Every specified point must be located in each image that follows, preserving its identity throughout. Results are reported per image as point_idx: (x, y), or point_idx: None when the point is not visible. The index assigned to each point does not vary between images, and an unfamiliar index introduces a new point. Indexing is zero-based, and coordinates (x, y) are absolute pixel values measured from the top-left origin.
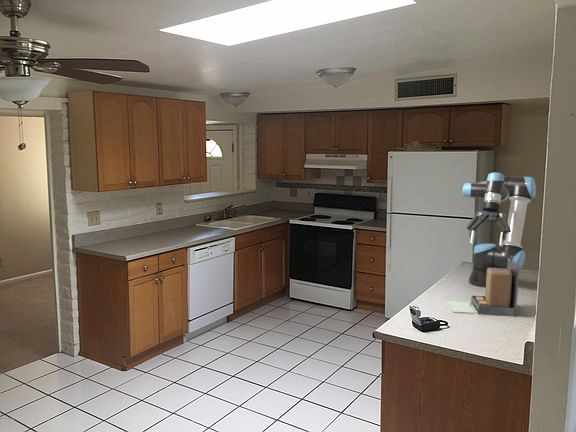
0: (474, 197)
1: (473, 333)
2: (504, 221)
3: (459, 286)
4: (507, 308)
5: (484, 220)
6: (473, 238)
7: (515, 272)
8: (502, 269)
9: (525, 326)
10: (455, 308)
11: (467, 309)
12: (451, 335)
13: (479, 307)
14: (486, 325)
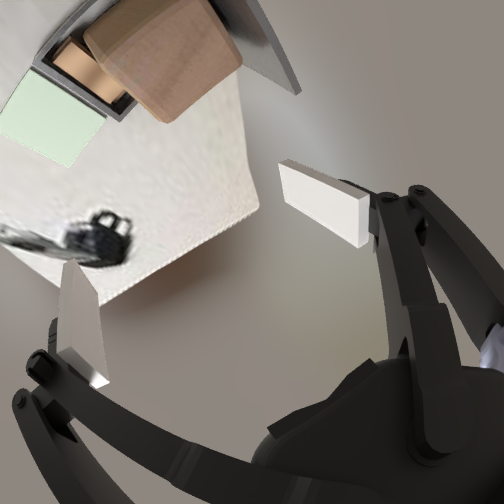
0: None
1: (176, 198)
2: (455, 296)
3: None
4: None
5: (233, 471)
6: (83, 303)
7: (264, 63)
8: (186, 31)
9: (234, 82)
10: (52, 147)
11: (76, 119)
12: (158, 233)
13: (120, 119)
14: (170, 149)
